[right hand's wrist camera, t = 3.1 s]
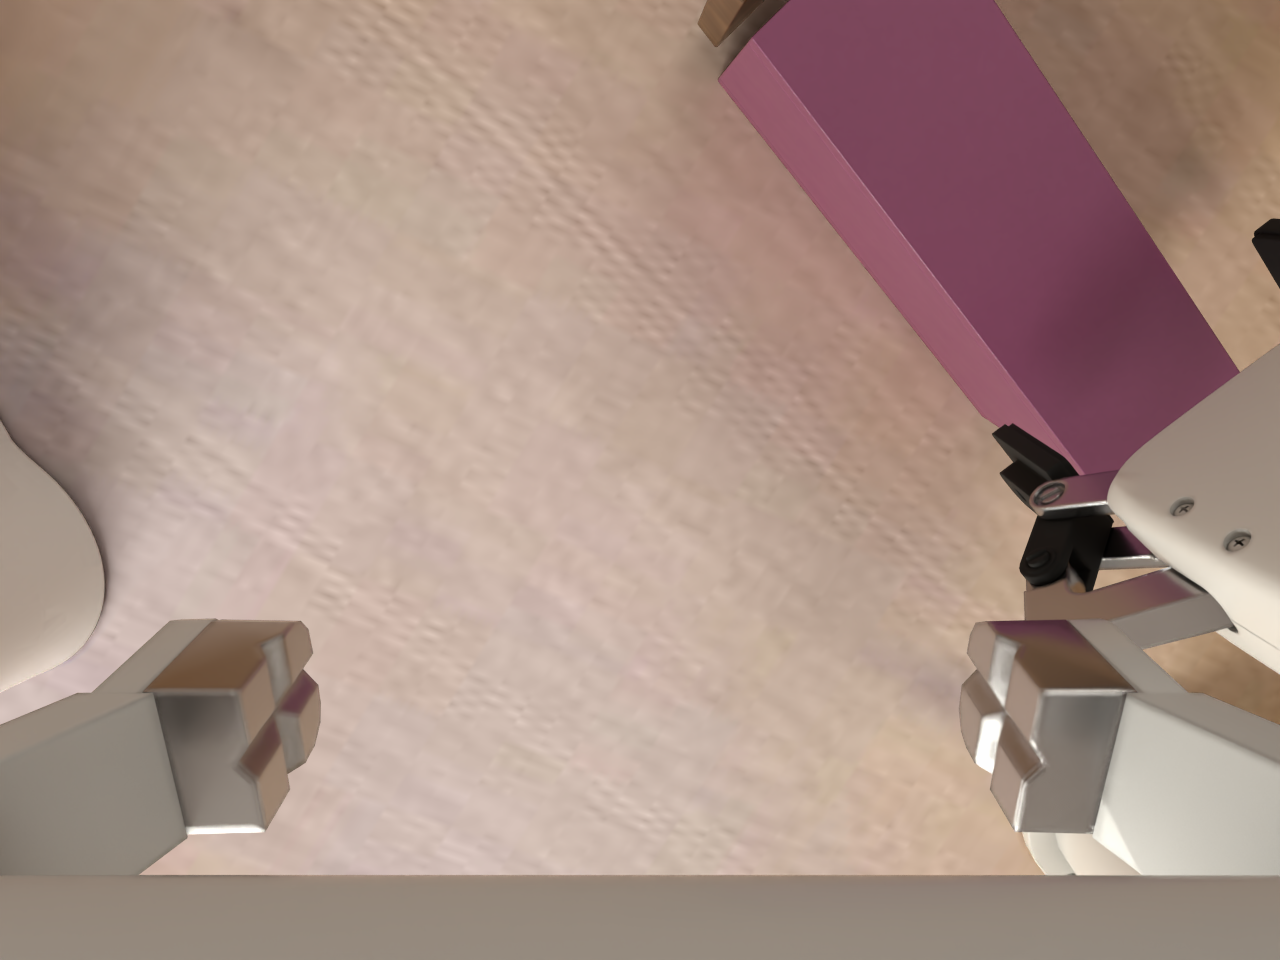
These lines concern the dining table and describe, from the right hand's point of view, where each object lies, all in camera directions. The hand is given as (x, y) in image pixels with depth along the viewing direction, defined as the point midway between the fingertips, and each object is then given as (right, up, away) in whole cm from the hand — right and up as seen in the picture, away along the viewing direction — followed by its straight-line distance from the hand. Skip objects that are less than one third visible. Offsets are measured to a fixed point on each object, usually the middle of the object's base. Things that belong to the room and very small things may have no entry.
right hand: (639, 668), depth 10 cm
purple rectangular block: (+12, +14, +26) cm, 32 cm away
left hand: (+17, +6, +17) cm, 25 cm away
